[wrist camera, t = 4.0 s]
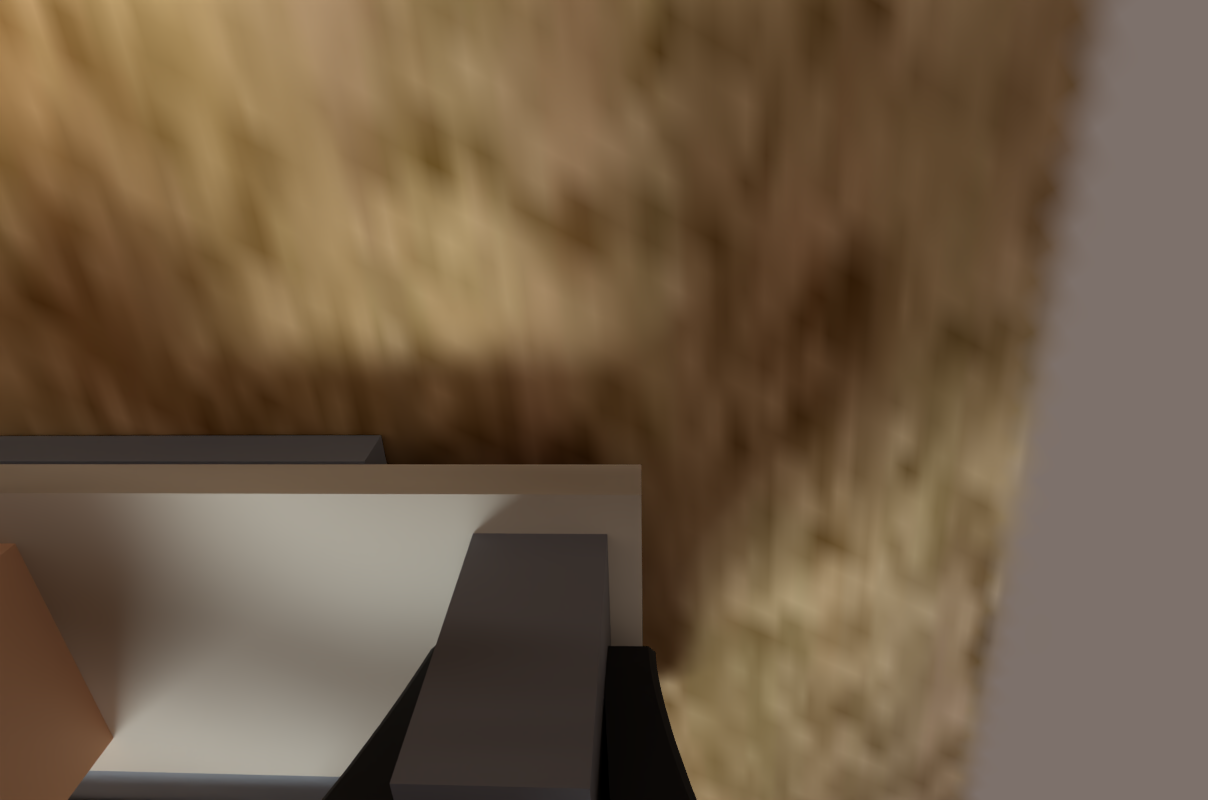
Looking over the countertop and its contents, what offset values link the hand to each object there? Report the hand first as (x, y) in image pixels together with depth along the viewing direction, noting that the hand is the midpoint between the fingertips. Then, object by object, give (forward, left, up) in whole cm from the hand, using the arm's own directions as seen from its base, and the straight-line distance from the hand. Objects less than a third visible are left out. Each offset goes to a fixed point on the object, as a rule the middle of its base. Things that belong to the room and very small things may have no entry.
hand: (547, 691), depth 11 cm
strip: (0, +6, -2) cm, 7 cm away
